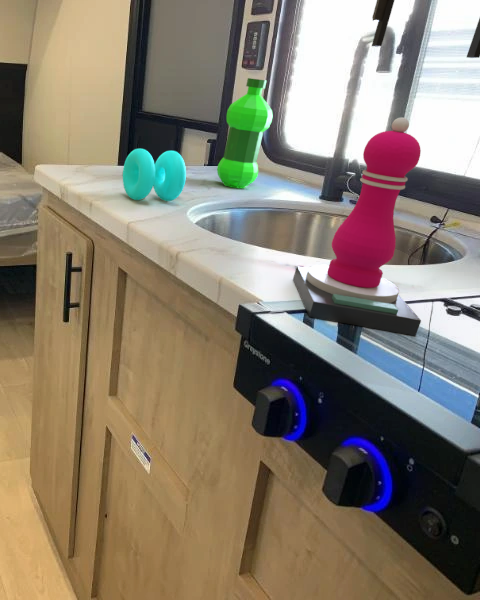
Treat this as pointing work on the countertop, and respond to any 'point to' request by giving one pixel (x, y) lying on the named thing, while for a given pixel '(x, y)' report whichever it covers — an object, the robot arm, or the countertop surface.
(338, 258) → the pepper mill
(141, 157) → the turquoise spool
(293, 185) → the countertop surface
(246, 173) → the plastic bottle
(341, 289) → the kitchen scale
